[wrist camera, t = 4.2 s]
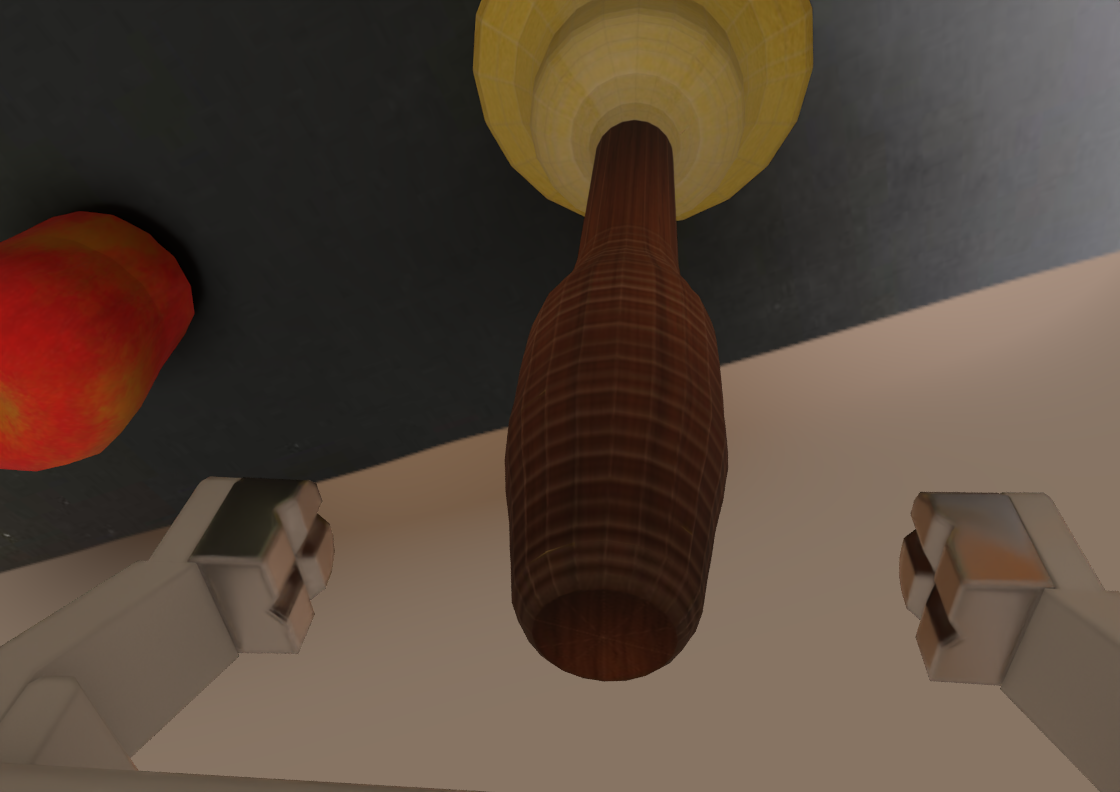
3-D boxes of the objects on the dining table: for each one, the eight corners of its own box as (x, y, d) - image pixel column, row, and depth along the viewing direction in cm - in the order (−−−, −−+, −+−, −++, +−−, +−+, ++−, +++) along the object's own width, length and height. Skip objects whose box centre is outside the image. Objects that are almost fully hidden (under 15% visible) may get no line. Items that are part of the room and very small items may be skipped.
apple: (151, 375, 40) (-3, 552, 31) (-2, 249, 37) (-228, 406, 27) (260, 288, 37) (123, 459, 27) (102, 139, 33) (-118, 276, 24)
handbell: (842, -140, 25) (1542, 99, 5) (790, 227, 33) (1002, 911, 13) (454, -127, 27) (-165, 110, 7) (487, 224, 34) (241, 846, 14)
